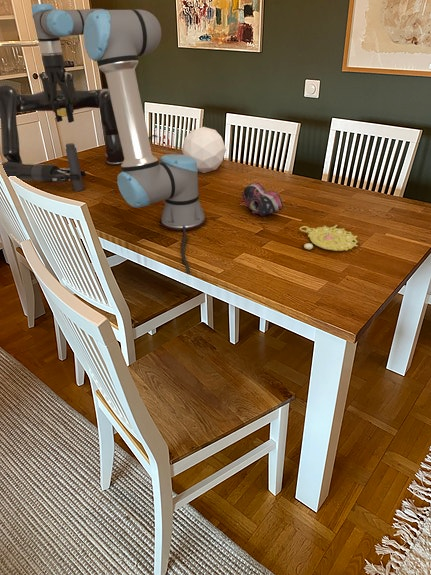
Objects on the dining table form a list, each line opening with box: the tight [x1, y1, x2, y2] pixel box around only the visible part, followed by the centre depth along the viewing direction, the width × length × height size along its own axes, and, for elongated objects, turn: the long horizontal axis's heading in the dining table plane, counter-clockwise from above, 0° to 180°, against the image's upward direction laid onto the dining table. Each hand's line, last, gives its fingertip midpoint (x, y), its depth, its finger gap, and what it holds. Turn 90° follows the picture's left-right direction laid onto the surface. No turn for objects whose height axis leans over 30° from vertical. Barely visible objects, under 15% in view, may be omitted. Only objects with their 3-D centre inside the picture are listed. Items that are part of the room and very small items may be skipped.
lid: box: [57, 108, 67, 117], centre depth 171 cm, size 5×5×2 cm
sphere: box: [181, 126, 227, 174], centre depth 199 cm, size 19×20×20 cm
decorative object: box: [299, 224, 359, 252], centre depth 141 cm, size 21×2×20 cm
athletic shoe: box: [238, 182, 284, 217], centre depth 160 cm, size 11×22×12 cm
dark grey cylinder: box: [65, 142, 85, 192], centre depth 182 cm, size 4×4×19 cm
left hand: (82, 175), depth 184 cm, fingers closed on dark grey cylinder, 4 cm apart
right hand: (65, 121), depth 172 cm, fingers closed on lid, 5 cm apart
